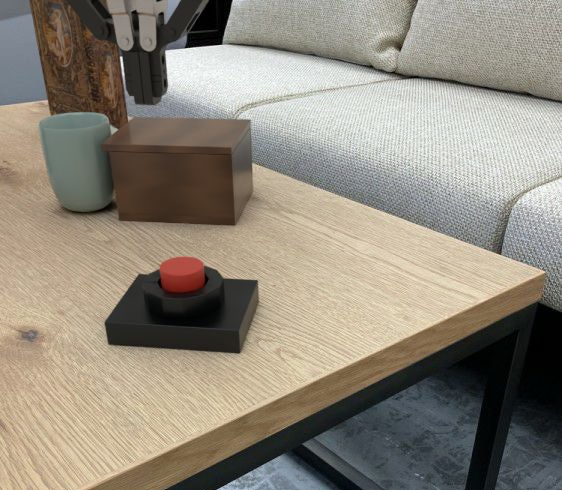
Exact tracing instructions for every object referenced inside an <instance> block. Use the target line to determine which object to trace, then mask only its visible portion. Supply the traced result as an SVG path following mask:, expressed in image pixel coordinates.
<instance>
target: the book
mask: <svg viewBox="0 0 562 490" xmlns="http://www.w3.org/2000/svg"><path fill="white" fill-rule="evenodd" d="M102 1H103V3H104V4H105V5H106V7H107V8H108V5H107V0H102ZM28 2H29V6H30V12H31V18H32V23H33V29H34V34H35V38H36V39H35V40H36V44H37V51H38V55H39V60H40V67H41V72H42V78H43V82H44V87H45V88H44V89H45V93H46V98H47V104H48V109H49V116H53V115H57V114H64V113H75V112H91V113H100V114H104V115H106V116H107V117H108V119H109V122H110V124H111V125H113V126H114V127H116V128H117V129H120V128H121V127H122V126H124V125H125V124H126V123H127V122H129V117H128V108H127V107H128V106H127V101H126V100H127V99H126V93H125V83H124V75H123V69H122V61H121V52H120V48H119V47H118V46H117V45H116V44H114V43H112V42H109V41H107V40H98V39H96V38H95V37H94V36H93V34H92V33H91V32H90V31H89V29H88V28H87V27H86V25H85V24H84V23H83V22H82V20H81V19H80V18H79V17H78V15H77V14H76V13H75V12H74V10H73V9H72V8H71V7H70V5H69V4H68V3H67V2H66V0H28Z"/></svg>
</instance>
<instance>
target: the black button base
mask: <svg viewBox="0 0 562 490" xmlns="http://www.w3.org/2000/svg"><path fill="white" fill-rule="evenodd" d="M204 274H205V285H204V286H203V287H201V288H199V289H197V290H193V291H188V292H170V291H167V290H164V289H163V288H162V285H161V276H160V268H159V269H156V270H154V271H152V272H150V273H138V274H137V276H136V277H135V278H134V280H133V281H132V283H131V284H130V286H129V287H128V288H127V290H126V291H125V293H124V294H123V295H122V297H121V298H120V300H119V301H118V302H117V304H116V305H115V307H114V308H113V309H112V310H111V312H110V313H109V315H108V316H107V318H105V320H104V328H105V329H104V330H105V334H106V339H107V345H108V346H116V347H117V346H118V347H119V346H120V347H134V348H147V349H148V348H149V349H162V350H163V349H165V350H178V351H194V352H195V351H196V352H211V353H225V354H227V353H228V354H241V353H242V349H243V346H244V343H245V341H246V338H247V335H248V334H249V333H248V332H249V330H250V327H251V325H252V322H253V318H254V316H255V313H256V310H257V308H258V306H259V302H260V294H259V293H260V291H259V279H249V278H247V279H245V278H227V277H223V275H222V274H221V273H220V271H219V270H218V269H216V268H214V267H210V266H207V265H204Z"/></svg>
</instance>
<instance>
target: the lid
mask: <svg viewBox="0 0 562 490" xmlns="http://www.w3.org/2000/svg"><path fill="white" fill-rule="evenodd" d="M250 127H251V128H252V120H251V119H245V118H244V119H242V118H241V119H239V118H203V117H202V118H199V117H198V118H197V117H158V116H157V117H151V116H150V117H149V116H134V117H132V118H131V119H130V120H128V122H127V123H126V124H125V125H124V126H122V127H121V128H120V129H119V130H117V131H116V132H115V133H113V134H112V135H111V136H110V137H108V138H107V139H106V140H105V141H103V142H102V143H101V150H102V151H121V152H155V153H190V154H225V155H232V153H233V152H234V150H235V149H236V147H237V146H238V144H239V143H240V141H241V140H242V139H243V137H244V136H245V134H246V133H247V131H248V130H249V128H250Z"/></svg>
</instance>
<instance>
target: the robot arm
mask: <svg viewBox="0 0 562 490" xmlns="http://www.w3.org/2000/svg"><path fill="white" fill-rule="evenodd" d="M209 1H210V0H180V1H179V2H178V4H177V5H176V7H175V8H174V11H173V12H172V14H171V15H170V17H169V19H168V20H167V10H168V5H169V0H107V5H108V8H107V7H106V5H105V4H104V3H103V1H102V0H66V2H67V3H68V4H69V5H70V7H71V8H72V9H73V10H74V12H75V13H76V14H77V15H78V17H79V18H80V19H81V20H82V22H83V23H84V24H85V25H86V27H87V28H88V29H89V31H90V32H91V33H92V34H93V36H94V37H95V38H96V39H98V40H107V41H109V42H112V43H114V44H116V45H117V46H118V47H119V51H120V54H121V59H122V65H123V66H122V67H123V74H124V75H123V78H124V86H125V91H126V92H127V94H128V96H129V97H133V101H134V104H135V105H137V106H157V105H158V104H159V103H160V102H162V99H163V98H162V97H163V96H165V95H166V94H167V92H168V89H169V78H168V68H167V66H168V65H167V55H166V49H167V47H168V45H170V44H172V43H175V42H177V41H179V40H181V39H182V38H184V37H186V36H187V35H188V34H189V33H190V32H191V29H193V26H194V25H195V23H196V21H197V20H198V19H199V17H200V15H201V14H202V12H203V11H204V9H205V8H206V5H207V4H208V3H209Z"/></svg>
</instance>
